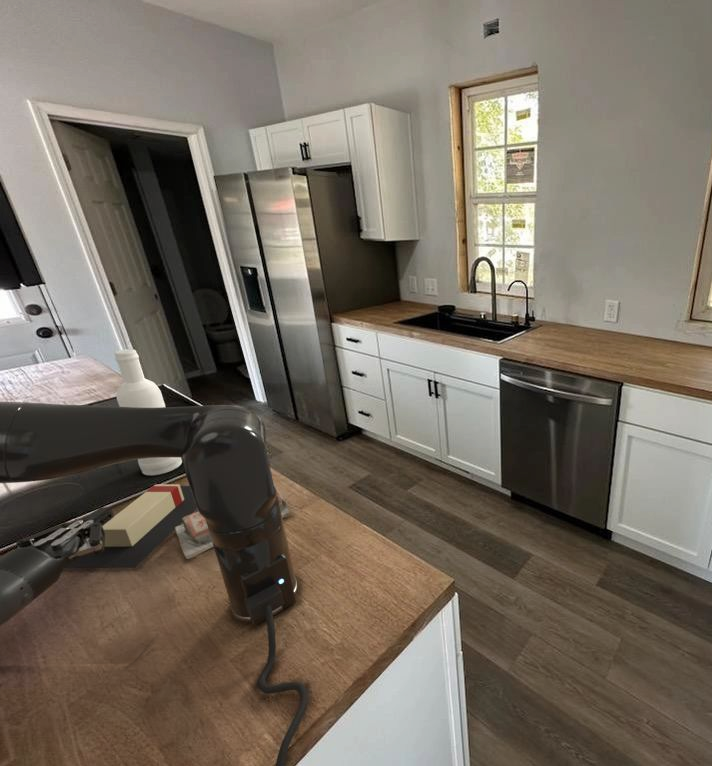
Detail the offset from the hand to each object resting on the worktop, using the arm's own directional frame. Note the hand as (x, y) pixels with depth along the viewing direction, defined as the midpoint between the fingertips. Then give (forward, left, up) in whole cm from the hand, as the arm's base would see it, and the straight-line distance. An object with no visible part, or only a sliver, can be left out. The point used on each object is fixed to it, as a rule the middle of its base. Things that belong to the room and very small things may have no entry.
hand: (108, 511), depth 74 cm
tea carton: (-1, +1, -6) cm, 6 cm away
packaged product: (-9, -16, -8) cm, 20 cm away
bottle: (+27, -10, -8) cm, 31 cm away
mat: (+4, -4, -8) cm, 10 cm away
